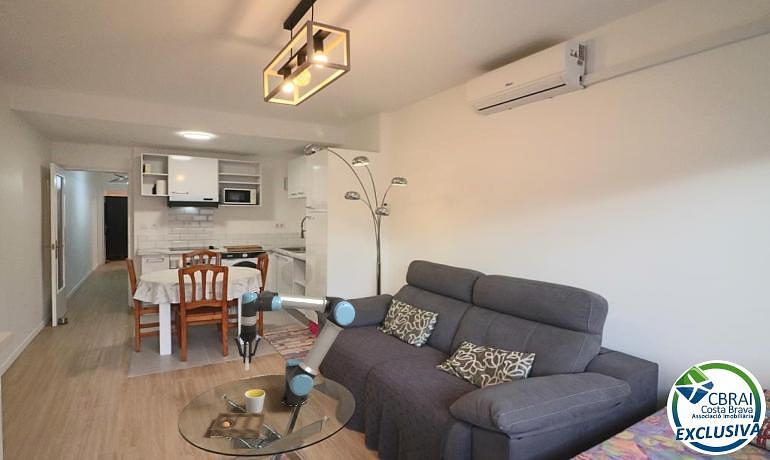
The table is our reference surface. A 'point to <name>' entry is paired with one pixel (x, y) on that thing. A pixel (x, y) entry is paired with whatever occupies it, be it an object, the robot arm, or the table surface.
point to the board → (238, 425)
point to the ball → (226, 424)
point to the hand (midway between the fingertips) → (247, 369)
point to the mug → (254, 400)
